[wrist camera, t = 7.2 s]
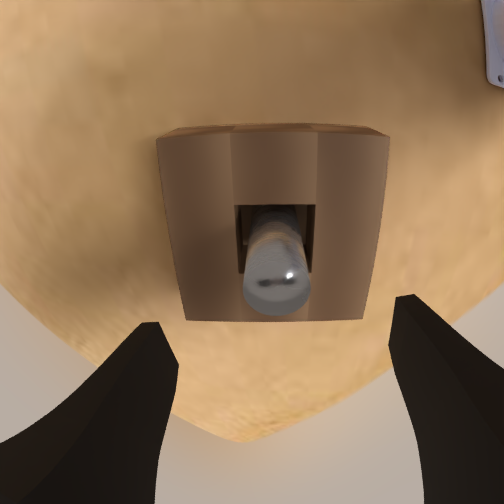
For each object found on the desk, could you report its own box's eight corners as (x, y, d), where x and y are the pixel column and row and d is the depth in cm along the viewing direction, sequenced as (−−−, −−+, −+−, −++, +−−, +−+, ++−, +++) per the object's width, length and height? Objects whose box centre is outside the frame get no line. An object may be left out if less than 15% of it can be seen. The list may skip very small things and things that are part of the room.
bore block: (366, 126, 15) (389, 137, 12) (350, 283, 20) (362, 319, 17) (177, 128, 15) (155, 139, 12) (197, 284, 20) (185, 320, 17)
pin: (294, 190, 16) (309, 258, 10) (297, 231, 18) (311, 313, 11) (249, 195, 17) (237, 264, 11) (255, 235, 18) (247, 318, 12)
